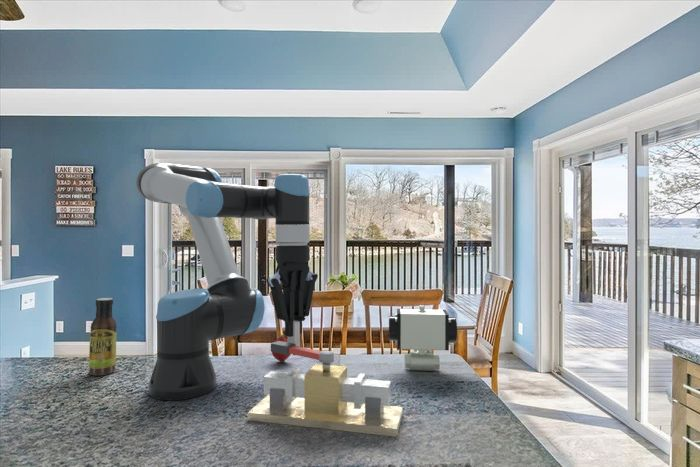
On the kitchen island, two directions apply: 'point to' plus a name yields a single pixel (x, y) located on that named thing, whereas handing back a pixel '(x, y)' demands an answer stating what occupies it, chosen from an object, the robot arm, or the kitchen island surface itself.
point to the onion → (277, 355)
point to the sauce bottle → (103, 339)
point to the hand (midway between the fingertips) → (293, 349)
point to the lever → (302, 351)
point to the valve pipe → (328, 401)
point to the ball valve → (422, 335)
